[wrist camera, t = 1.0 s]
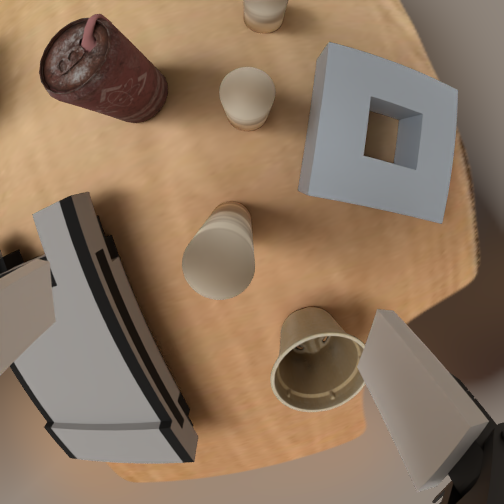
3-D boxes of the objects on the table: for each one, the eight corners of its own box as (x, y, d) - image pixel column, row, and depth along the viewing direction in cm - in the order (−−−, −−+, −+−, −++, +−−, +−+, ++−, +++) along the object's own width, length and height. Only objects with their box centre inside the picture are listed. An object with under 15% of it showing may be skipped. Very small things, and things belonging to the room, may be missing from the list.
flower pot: (264, 365, 35) (269, 415, 26) (266, 293, 32) (272, 335, 24) (341, 360, 35) (361, 407, 27) (351, 291, 32) (380, 329, 24)
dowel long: (213, 198, 30) (185, 225, 16) (254, 204, 30) (260, 235, 16) (208, 238, 31) (179, 294, 17) (248, 243, 31) (249, 304, 17)
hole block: (316, 59, 26) (328, 41, 21) (432, 97, 26) (457, 90, 22) (297, 190, 29) (307, 195, 25) (417, 215, 30) (442, 223, 25)
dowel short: (247, 2, 24) (247, -22, 19) (284, 7, 24) (290, -16, 19) (241, 30, 25) (240, 8, 20) (280, 36, 25) (285, 14, 20)
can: (177, 70, 26) (130, 8, 12) (159, 128, 27) (93, 102, 14) (125, 63, 25) (56, 12, 12) (107, 118, 27) (24, 96, 13)
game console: (104, 188, 29) (63, 197, 21) (201, 417, 38) (194, 461, 30) (-7, 242, 30) (-46, 259, 23) (87, 423, 39) (70, 458, 31)
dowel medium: (229, 90, 27) (223, 64, 19) (270, 95, 27) (279, 71, 19) (223, 128, 28) (215, 114, 20) (264, 133, 28) (271, 121, 20)
